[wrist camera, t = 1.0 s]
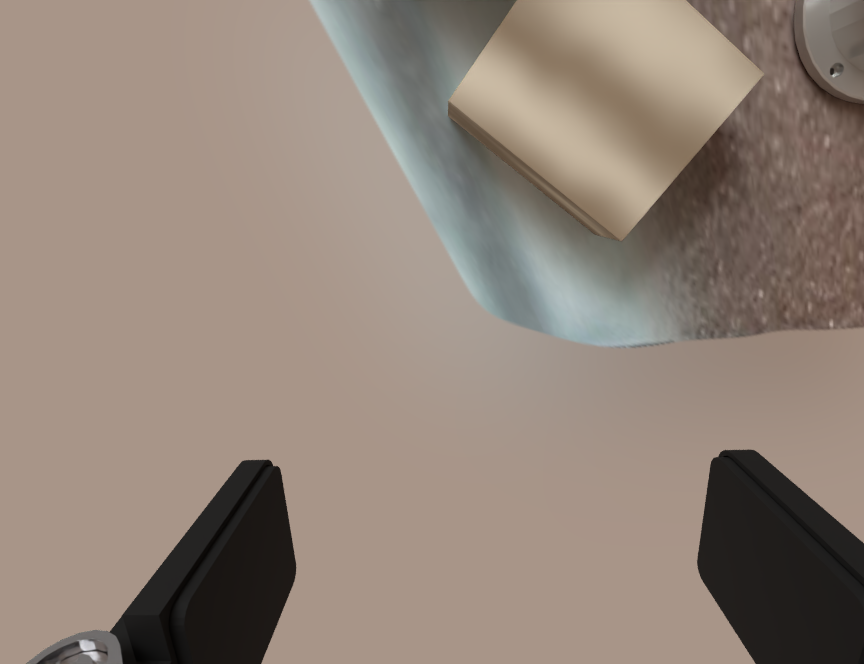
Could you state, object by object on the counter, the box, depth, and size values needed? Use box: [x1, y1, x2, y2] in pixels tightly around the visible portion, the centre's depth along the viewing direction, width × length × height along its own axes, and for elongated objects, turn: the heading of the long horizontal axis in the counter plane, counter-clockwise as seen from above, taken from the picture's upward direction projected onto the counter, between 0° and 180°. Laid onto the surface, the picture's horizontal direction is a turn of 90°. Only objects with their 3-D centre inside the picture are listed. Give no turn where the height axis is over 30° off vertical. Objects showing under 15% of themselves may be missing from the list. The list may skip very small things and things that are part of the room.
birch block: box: [448, 0, 764, 241], centre depth 31 cm, size 12×14×6 cm
